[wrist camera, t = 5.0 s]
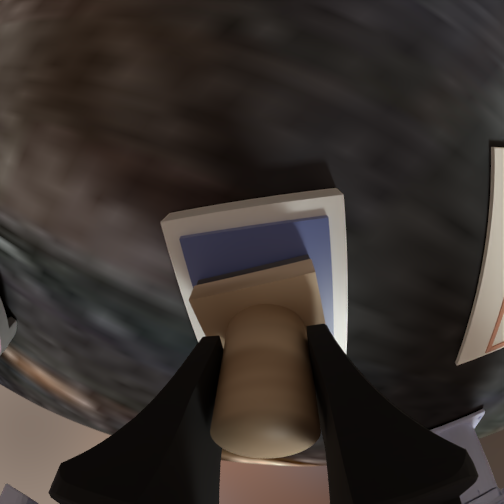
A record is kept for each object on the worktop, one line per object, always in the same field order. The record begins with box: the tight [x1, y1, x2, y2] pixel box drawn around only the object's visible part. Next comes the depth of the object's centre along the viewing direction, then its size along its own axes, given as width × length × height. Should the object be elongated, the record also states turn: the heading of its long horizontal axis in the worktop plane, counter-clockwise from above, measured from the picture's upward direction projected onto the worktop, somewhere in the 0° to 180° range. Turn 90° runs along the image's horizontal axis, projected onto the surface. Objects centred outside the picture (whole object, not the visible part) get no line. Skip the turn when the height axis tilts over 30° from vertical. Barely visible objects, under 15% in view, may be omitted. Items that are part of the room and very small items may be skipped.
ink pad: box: [160, 188, 348, 354], centre depth 13 cm, size 9×7×2 cm
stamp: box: [189, 254, 326, 458], centre depth 10 cm, size 4×4×6 cm
